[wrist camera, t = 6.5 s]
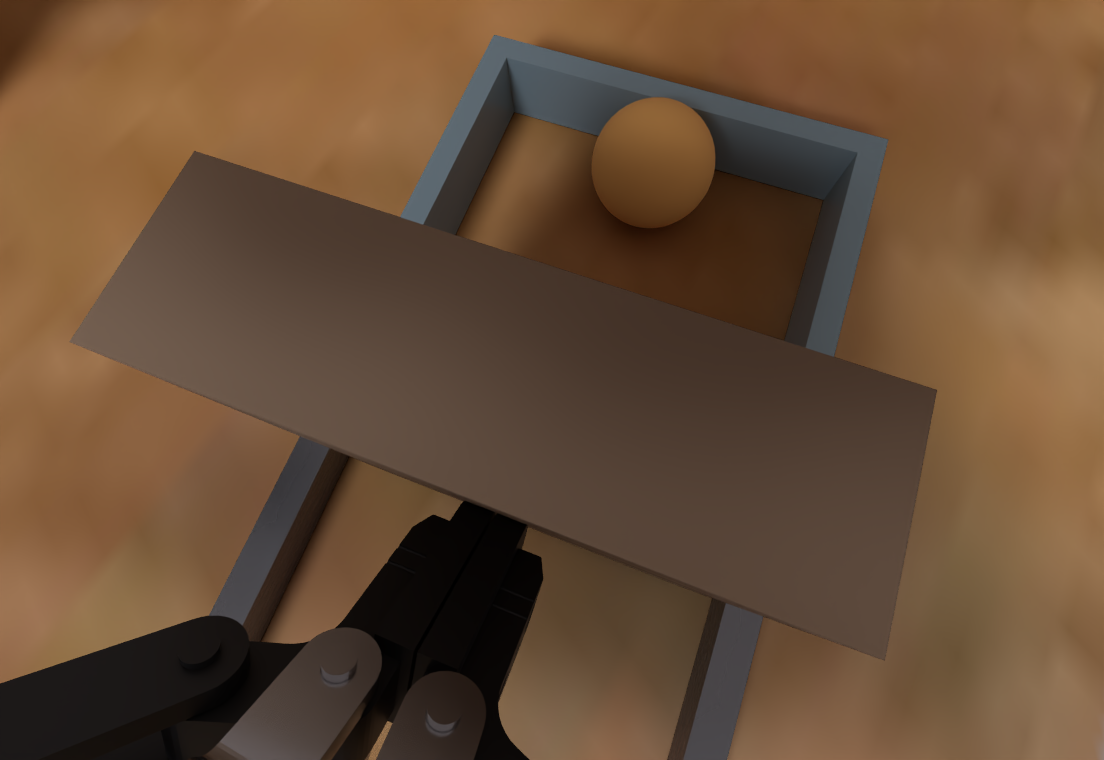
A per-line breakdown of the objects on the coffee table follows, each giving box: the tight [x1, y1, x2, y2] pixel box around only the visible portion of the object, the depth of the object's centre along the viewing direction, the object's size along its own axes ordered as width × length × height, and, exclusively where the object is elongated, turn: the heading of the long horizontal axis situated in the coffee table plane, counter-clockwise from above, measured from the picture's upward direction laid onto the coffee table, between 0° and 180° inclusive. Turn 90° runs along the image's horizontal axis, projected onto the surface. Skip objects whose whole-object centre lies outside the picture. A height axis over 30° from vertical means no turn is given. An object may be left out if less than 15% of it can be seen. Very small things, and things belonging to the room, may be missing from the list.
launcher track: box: [209, 436, 763, 760], centre depth 16 cm, size 16×14×2 cm
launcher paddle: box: [70, 151, 937, 661], centre depth 12 cm, size 3×10×11 cm, turn 69°
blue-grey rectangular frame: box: [401, 35, 888, 357], centre depth 18 cm, size 11×14×2 cm
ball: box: [591, 97, 715, 228], centre depth 18 cm, size 4×4×4 cm
